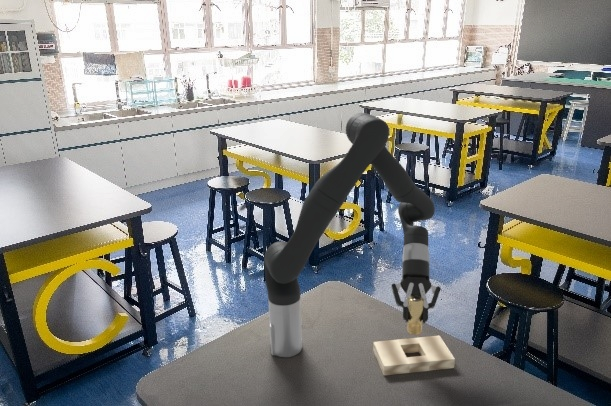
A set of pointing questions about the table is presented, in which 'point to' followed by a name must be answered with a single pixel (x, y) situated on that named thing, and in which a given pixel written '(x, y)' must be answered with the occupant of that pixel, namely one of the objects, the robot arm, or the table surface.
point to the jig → (397, 362)
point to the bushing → (415, 315)
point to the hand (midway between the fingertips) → (415, 322)
